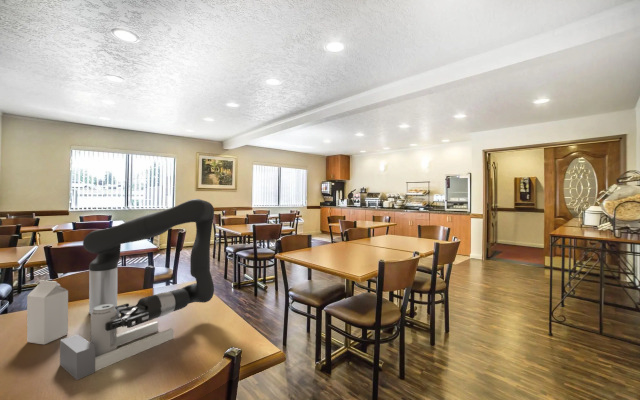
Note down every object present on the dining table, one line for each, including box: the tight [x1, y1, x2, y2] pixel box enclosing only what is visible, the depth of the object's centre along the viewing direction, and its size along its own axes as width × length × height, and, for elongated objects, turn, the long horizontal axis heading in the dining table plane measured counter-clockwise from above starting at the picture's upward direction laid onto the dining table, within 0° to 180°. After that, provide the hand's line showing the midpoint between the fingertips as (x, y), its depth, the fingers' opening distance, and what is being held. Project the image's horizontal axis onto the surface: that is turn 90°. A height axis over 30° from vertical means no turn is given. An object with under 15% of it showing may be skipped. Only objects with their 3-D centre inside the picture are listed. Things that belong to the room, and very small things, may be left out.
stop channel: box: [59, 320, 175, 381], centre depth 88 cm, size 12×26×7 cm, turn 147°
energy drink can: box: [90, 304, 117, 357], centre depth 84 cm, size 6×6×15 cm
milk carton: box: [26, 279, 69, 345], centre depth 95 cm, size 7×7×19 cm
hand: (99, 323), depth 83 cm, fingers open, 8 cm apart
